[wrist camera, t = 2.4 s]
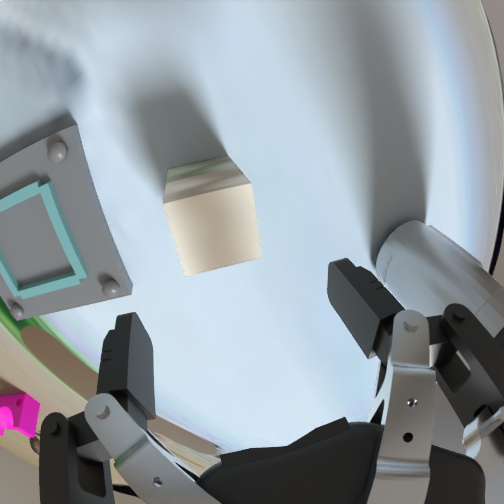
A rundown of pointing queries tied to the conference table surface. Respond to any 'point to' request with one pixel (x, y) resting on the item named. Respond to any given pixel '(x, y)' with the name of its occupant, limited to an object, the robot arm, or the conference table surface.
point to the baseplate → (54, 231)
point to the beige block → (211, 215)
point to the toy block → (19, 413)
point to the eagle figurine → (35, 444)
